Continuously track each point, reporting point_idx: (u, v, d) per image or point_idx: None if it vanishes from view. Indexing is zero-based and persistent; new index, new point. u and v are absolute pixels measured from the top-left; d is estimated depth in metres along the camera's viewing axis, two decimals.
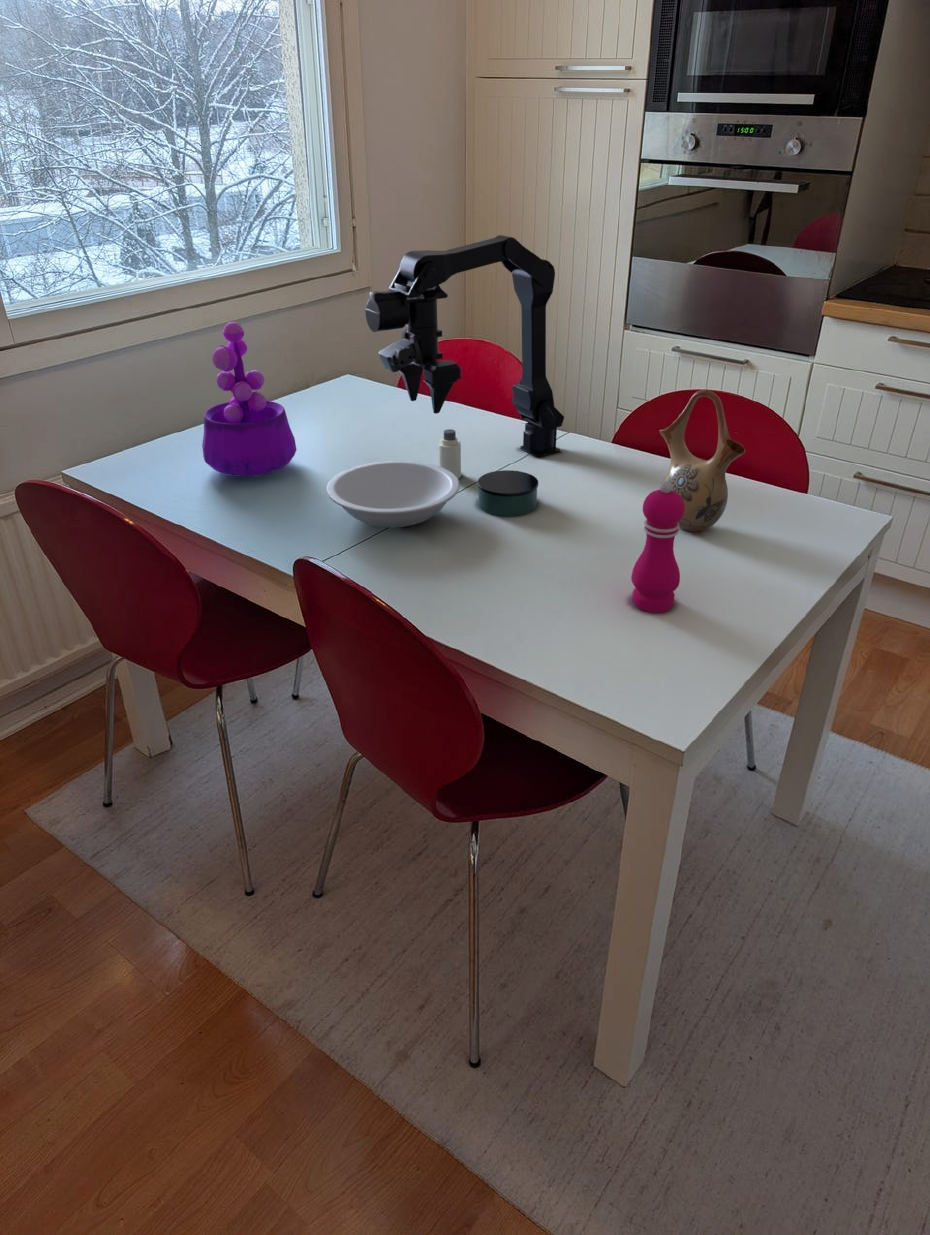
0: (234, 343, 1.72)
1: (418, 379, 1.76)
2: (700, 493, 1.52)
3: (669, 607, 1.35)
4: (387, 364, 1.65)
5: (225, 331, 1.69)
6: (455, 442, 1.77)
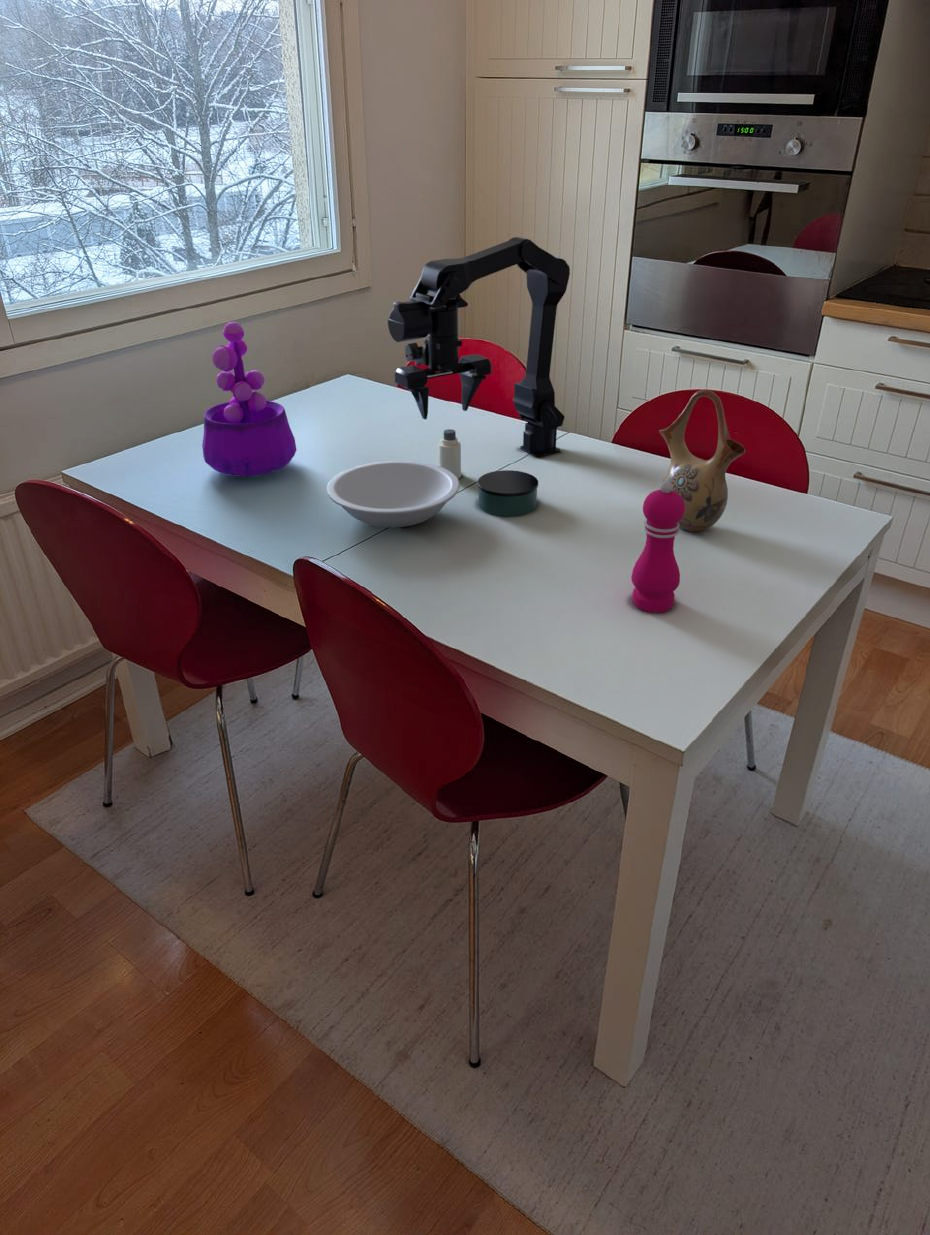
0: (234, 343, 1.72)
1: (469, 392, 1.74)
2: (700, 493, 1.52)
3: (669, 607, 1.35)
4: None
5: (225, 331, 1.69)
6: (455, 442, 1.77)
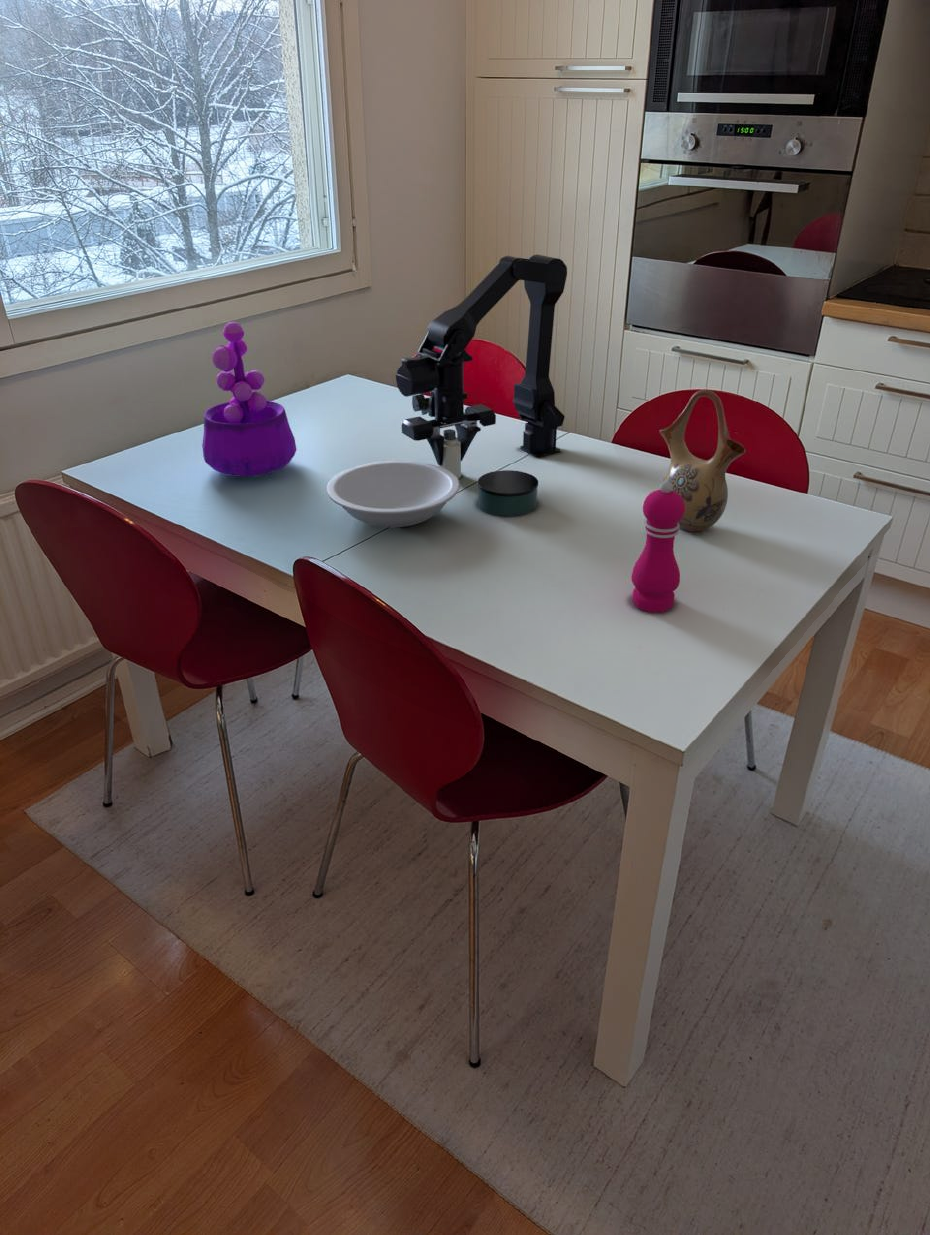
0: (234, 343, 1.72)
1: (464, 443, 1.78)
2: (700, 493, 1.52)
3: (669, 607, 1.35)
4: None
5: (225, 331, 1.69)
6: (455, 442, 1.77)
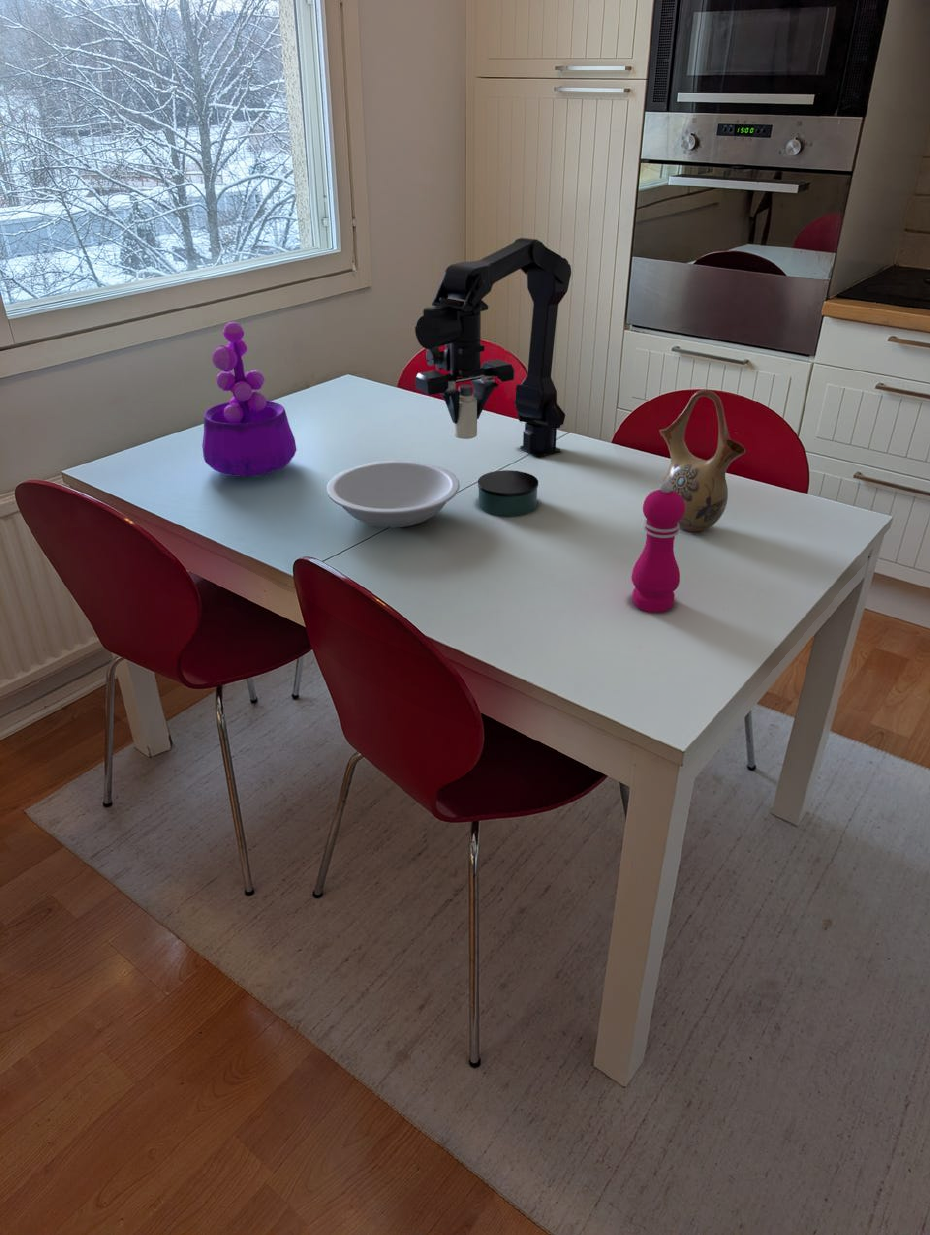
0: (234, 343, 1.72)
1: (481, 400, 1.69)
2: (700, 493, 1.52)
3: (669, 607, 1.35)
4: None
5: (225, 331, 1.69)
6: (471, 398, 1.68)
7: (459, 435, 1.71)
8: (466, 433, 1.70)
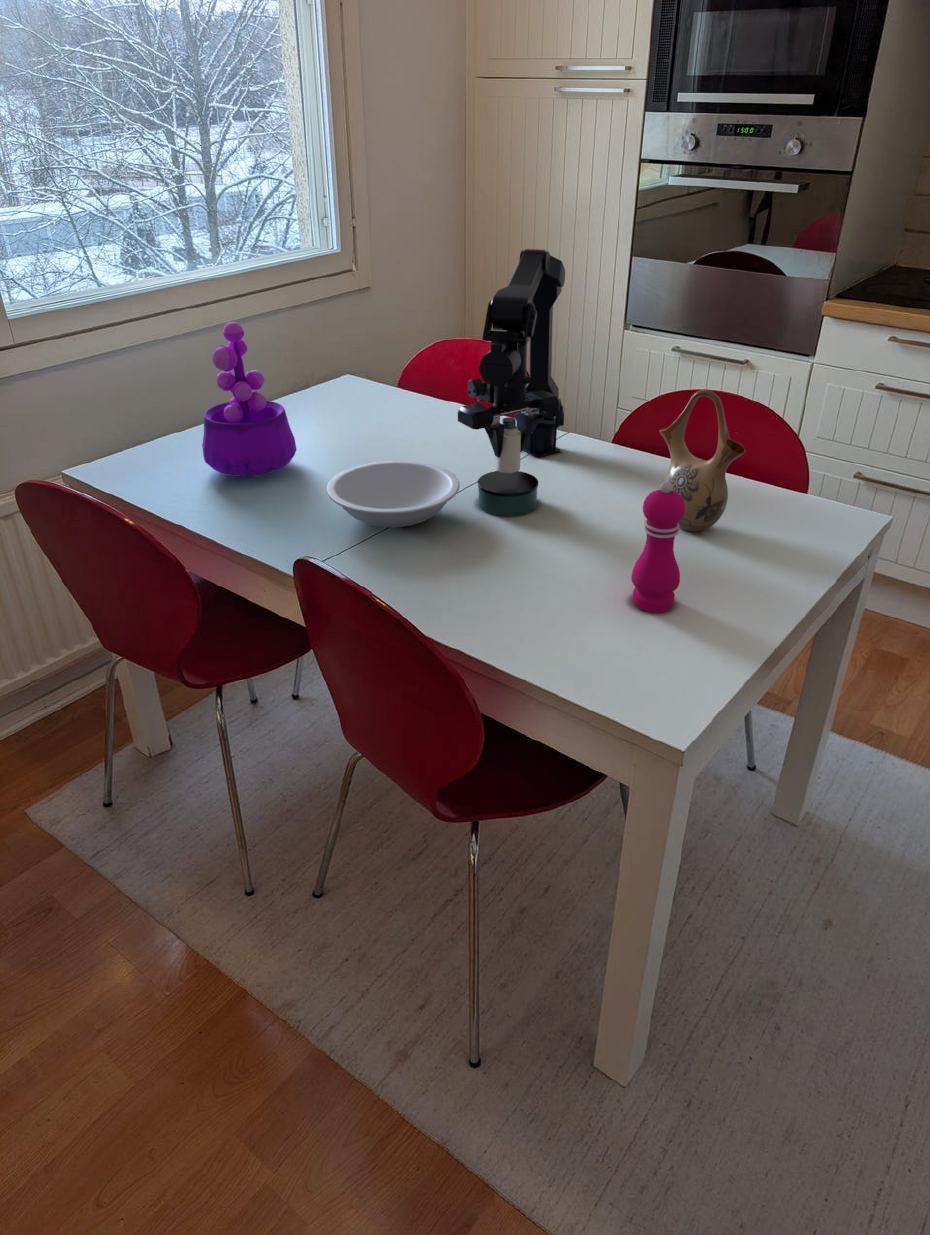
0: (234, 343, 1.72)
1: (525, 433, 1.62)
2: (700, 493, 1.52)
3: (669, 607, 1.35)
4: None
5: (225, 331, 1.69)
6: (515, 431, 1.61)
7: (502, 469, 1.64)
8: (510, 467, 1.63)
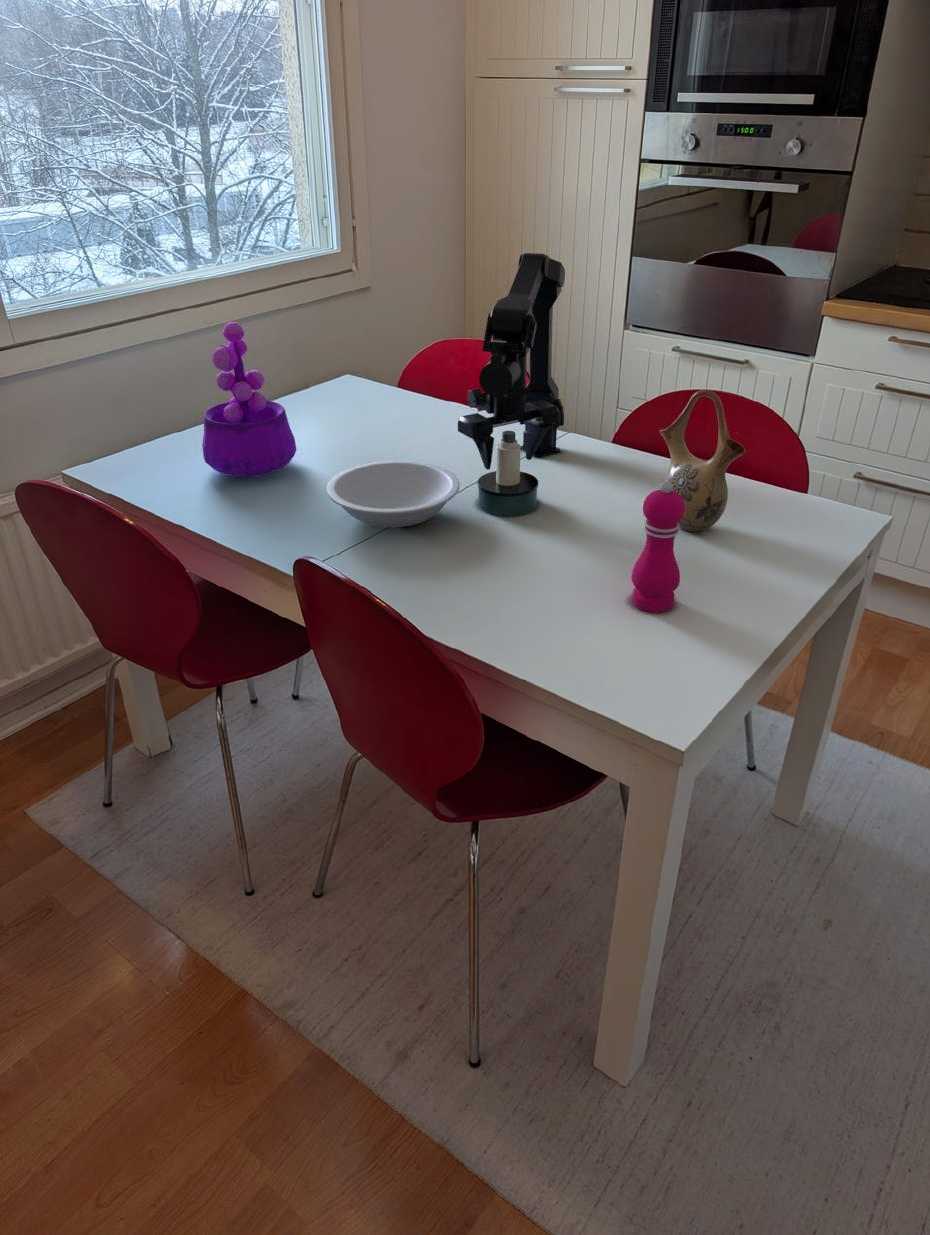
0: (234, 343, 1.72)
1: (535, 440, 1.64)
2: (700, 493, 1.52)
3: (669, 607, 1.35)
4: None
5: (225, 331, 1.69)
6: (515, 445, 1.62)
7: (502, 482, 1.65)
8: (509, 480, 1.65)
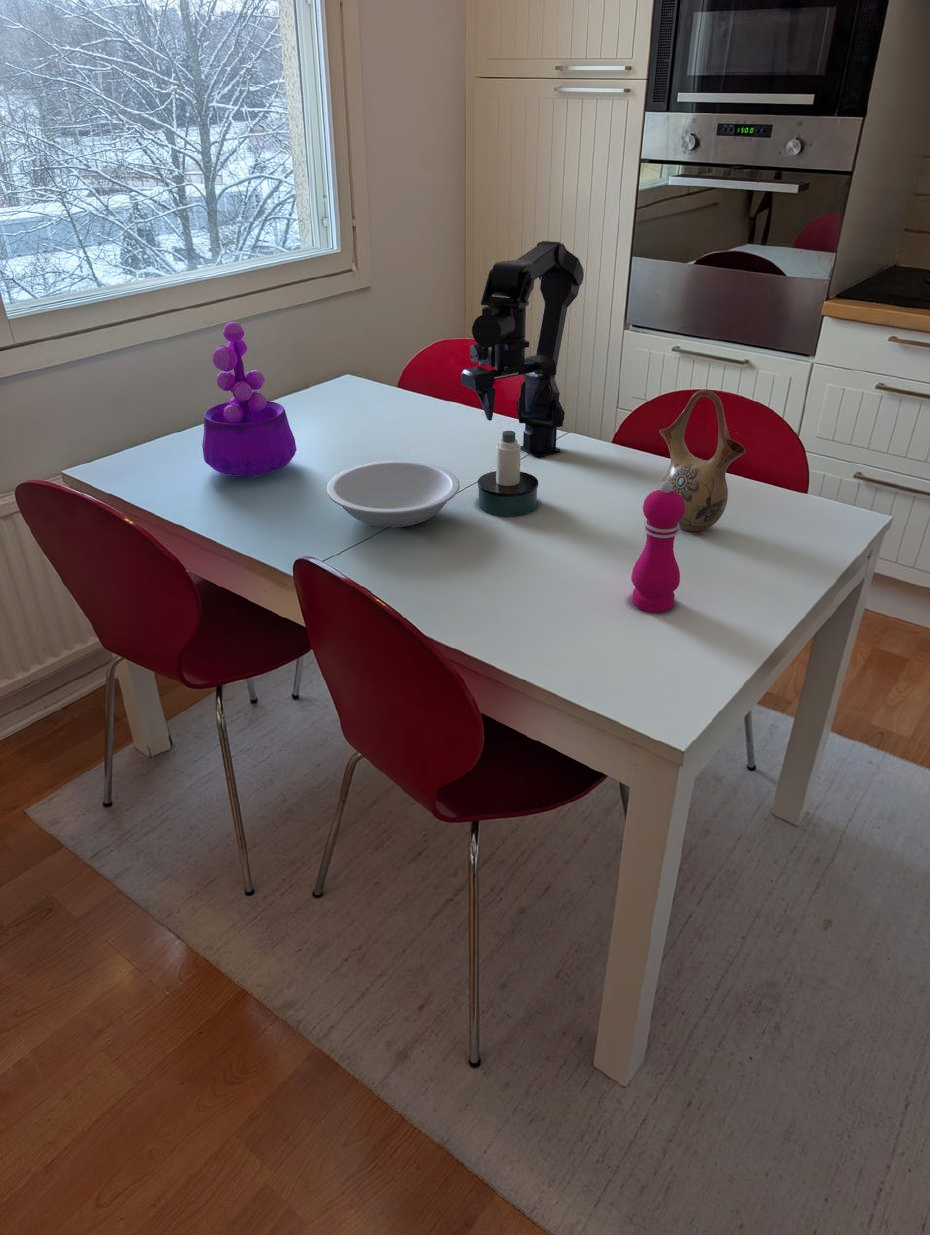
0: (234, 343, 1.72)
1: (534, 393, 1.74)
2: (700, 493, 1.52)
3: (669, 607, 1.35)
4: None
5: (225, 331, 1.69)
6: (515, 445, 1.62)
7: (502, 482, 1.65)
8: (509, 480, 1.65)
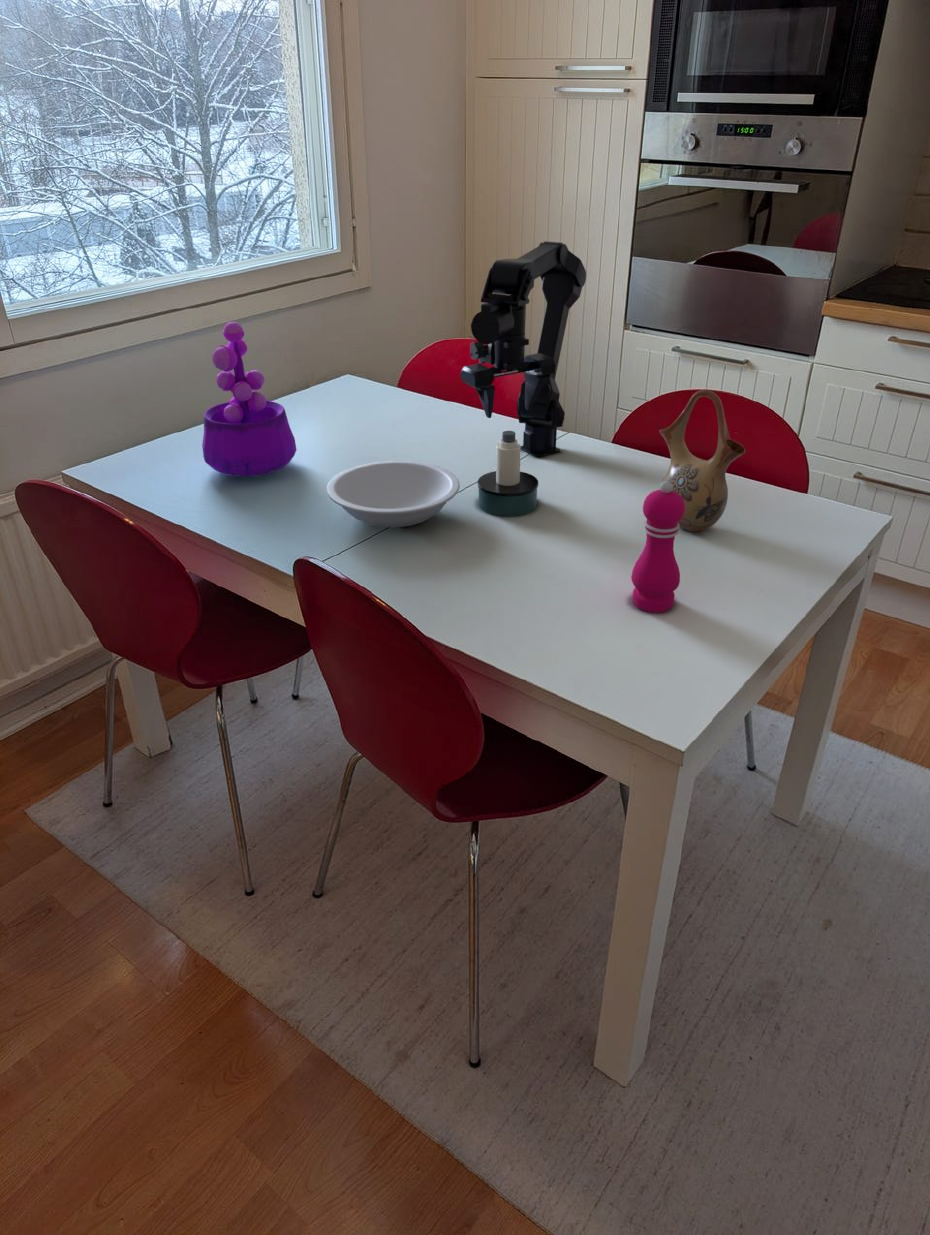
0: (234, 343, 1.72)
1: (533, 391, 1.74)
2: (700, 493, 1.52)
3: (669, 607, 1.35)
4: None
5: (225, 331, 1.69)
6: (515, 445, 1.62)
7: (502, 482, 1.65)
8: (509, 480, 1.65)
